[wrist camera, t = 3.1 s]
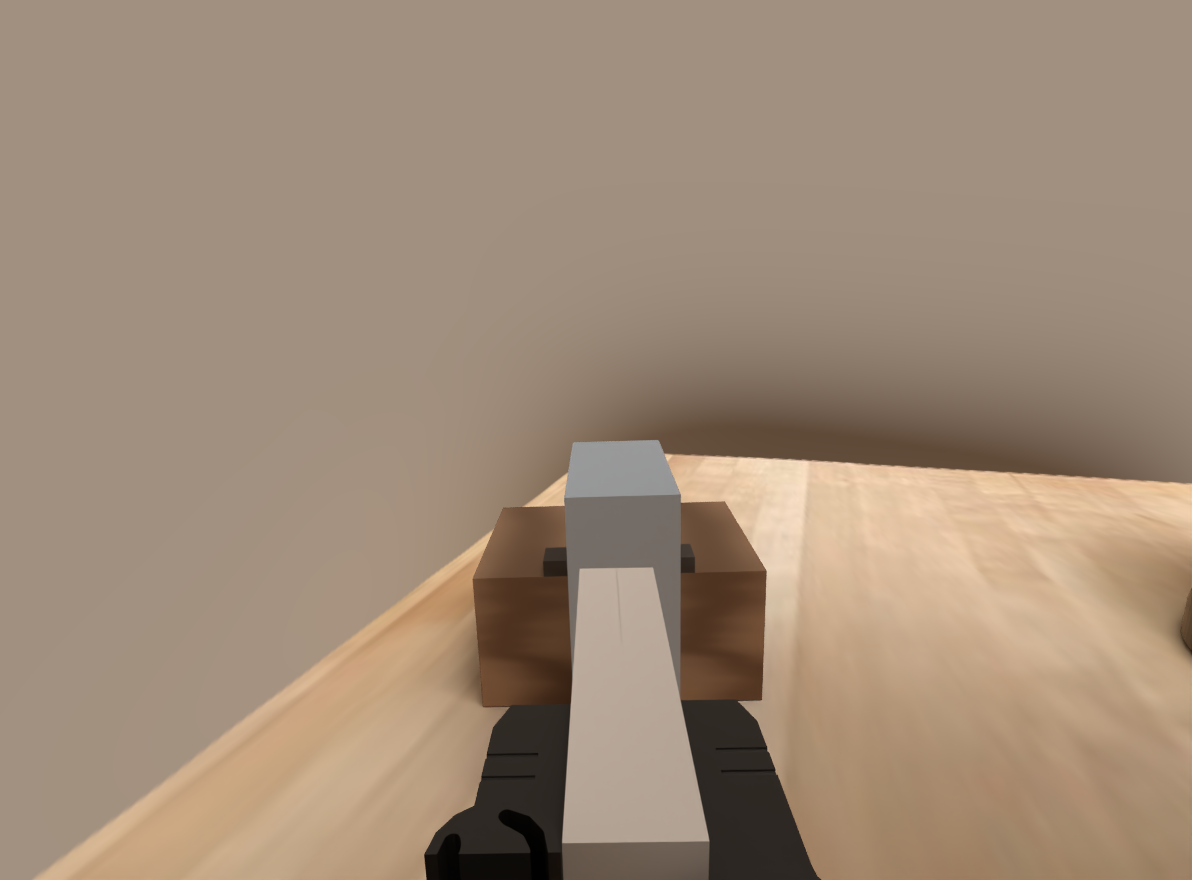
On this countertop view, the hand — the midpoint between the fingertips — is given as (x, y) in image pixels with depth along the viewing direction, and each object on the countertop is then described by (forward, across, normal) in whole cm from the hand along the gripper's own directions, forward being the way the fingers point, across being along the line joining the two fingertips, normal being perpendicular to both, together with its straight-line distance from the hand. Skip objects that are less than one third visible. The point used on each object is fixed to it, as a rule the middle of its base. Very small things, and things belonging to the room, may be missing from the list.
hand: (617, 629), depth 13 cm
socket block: (+21, +1, -13) cm, 25 cm away
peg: (+13, +1, -13) cm, 18 cm away
